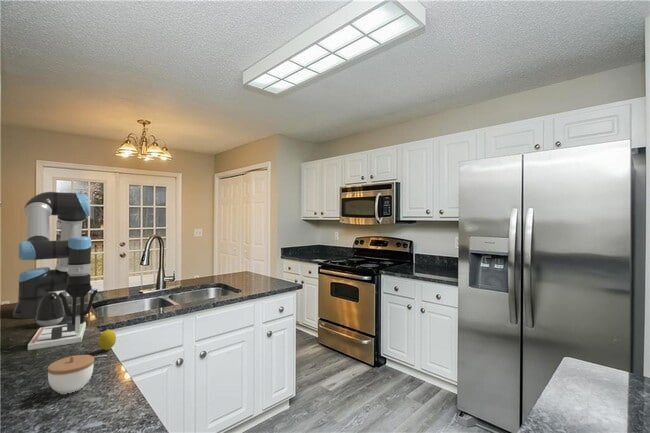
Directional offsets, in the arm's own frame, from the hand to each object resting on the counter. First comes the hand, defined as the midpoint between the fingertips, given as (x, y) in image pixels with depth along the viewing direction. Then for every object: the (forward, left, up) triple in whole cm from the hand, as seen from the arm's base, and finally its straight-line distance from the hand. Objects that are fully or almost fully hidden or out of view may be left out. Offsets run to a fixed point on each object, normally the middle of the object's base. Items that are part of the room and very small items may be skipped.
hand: (77, 331), depth 130 cm
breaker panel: (-8, -7, -3) cm, 11 cm away
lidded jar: (+45, +2, -4) cm, 45 cm away
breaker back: (-16, -3, -1) cm, 16 cm away
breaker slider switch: (0, -7, -1) cm, 7 cm away
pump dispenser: (-29, -13, -4) cm, 32 cm away
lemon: (+18, +10, -4) cm, 21 cm away
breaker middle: (-8, -3, -1) cm, 8 cm away
